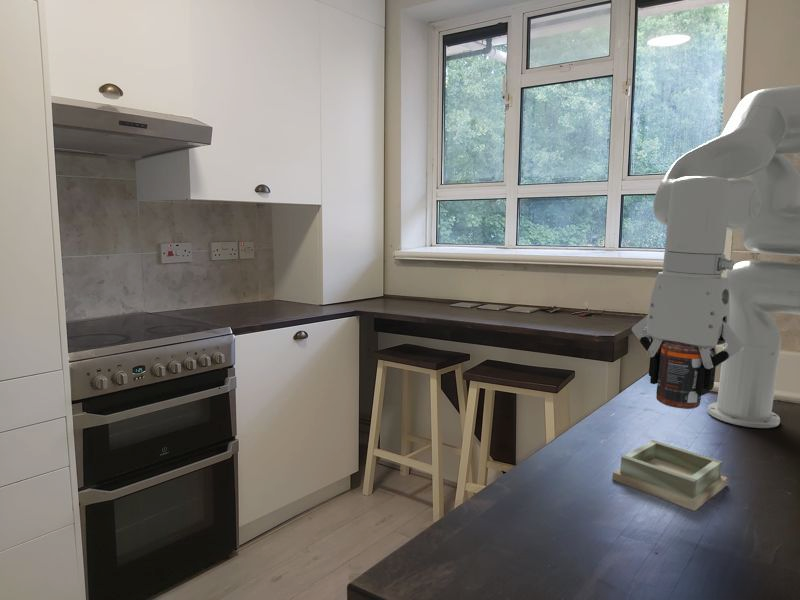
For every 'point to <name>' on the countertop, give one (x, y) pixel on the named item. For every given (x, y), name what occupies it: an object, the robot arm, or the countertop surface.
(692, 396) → the supplement bottle
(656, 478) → the socket board
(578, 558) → the countertop surface
